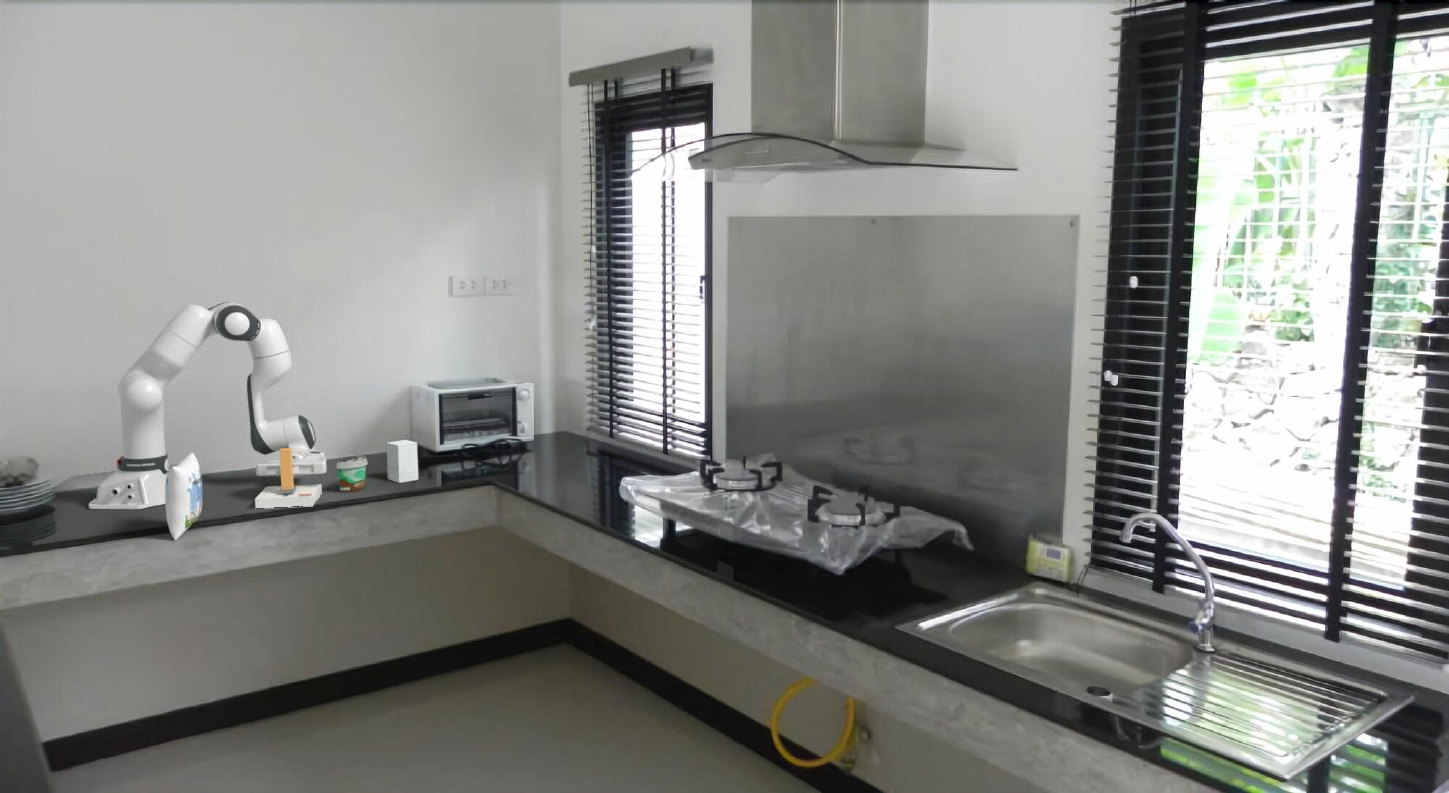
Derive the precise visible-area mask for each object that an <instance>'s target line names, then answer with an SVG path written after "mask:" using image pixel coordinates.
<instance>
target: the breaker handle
mask: <svg viewBox="0 0 1449 793" xmlns="http://www.w3.org/2000/svg"><path fill="white" fill-rule="evenodd" d="M279 460H280V469H281V475H280V483H281V485H280V486H281V489H280V490H279V494H290V493H294V492H295V491H296V486H294V485H295V484H294V478H293V463H292V448H284V449H280V450H279Z"/></svg>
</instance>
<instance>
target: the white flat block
mask: <svg viewBox="0 0 1449 793" xmlns="http://www.w3.org/2000/svg"><path fill="white" fill-rule="evenodd" d="M294 486H296V491H295V492H294V493H290V494H279V490H280V489H281V485H274V486H272V485H271V486H270V485H269V486H266V487H264V489H263V490H262V491H261V492H260V493H259V494H258V495H257V496H256V497H255V498H254V504H255V509H256V508H264V509H275V508H274V507H288V508H293V507H292V506H300V507H299V508H305V507H306V508H307V507H308V508H309V507H314V506H315V505H314V503H315V502H316V500H317V501H318V500H319V499H320V497H321V496H322V495H323V491H322V490H323V489H322V483H321V484H319V483H318V484H298V485H297V484H296V485H295V484H294ZM320 495H321V496H320ZM318 498H319V499H318ZM316 503H317V502H316ZM316 503H315V504H316ZM313 505H314V506H313ZM301 506H303V507H301Z"/></svg>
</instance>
